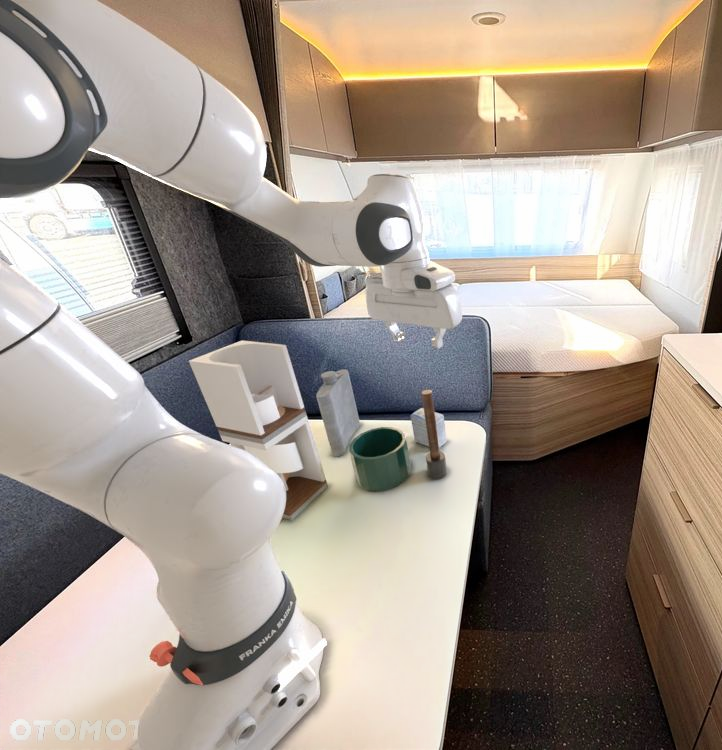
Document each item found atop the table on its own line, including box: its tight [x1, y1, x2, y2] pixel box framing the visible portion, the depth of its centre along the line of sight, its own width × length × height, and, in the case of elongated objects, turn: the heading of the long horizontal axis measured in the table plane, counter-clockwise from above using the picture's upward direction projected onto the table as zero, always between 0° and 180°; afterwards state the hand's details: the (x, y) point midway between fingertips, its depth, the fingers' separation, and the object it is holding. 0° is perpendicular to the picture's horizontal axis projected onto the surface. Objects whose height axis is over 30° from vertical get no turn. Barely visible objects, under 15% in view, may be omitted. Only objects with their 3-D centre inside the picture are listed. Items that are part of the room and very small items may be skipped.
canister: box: [348, 426, 412, 492], centre depth 91 cm, size 13×13×9 cm
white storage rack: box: [188, 340, 328, 521], centre depth 79 cm, size 11×11×35 cm
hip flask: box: [315, 369, 361, 457], centre depth 102 cm, size 16×4×20 cm, turn 1°
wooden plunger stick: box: [421, 389, 448, 480], centre depth 87 cm, size 4×4×22 cm
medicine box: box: [410, 407, 448, 449], centre depth 102 cm, size 8×4×9 cm, turn 58°
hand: (417, 344), depth 77 cm, fingers open, 8 cm apart
